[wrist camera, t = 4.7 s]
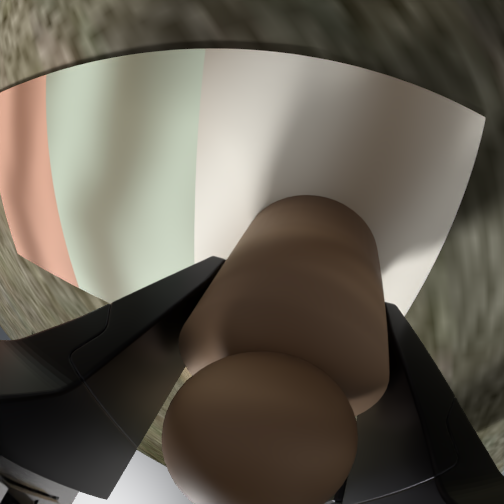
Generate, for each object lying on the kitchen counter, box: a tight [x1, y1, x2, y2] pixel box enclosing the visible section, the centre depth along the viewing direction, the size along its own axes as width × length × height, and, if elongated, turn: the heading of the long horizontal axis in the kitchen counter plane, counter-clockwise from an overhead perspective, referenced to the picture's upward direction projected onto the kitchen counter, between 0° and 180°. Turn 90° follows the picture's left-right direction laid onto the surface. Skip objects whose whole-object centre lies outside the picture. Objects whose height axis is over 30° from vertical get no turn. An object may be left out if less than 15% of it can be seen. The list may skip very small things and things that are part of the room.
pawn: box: [162, 195, 389, 504], centre depth 6 cm, size 4×4×8 cm
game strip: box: [0, 49, 486, 316], centre depth 10 cm, size 24×12×1 cm, turn 83°
